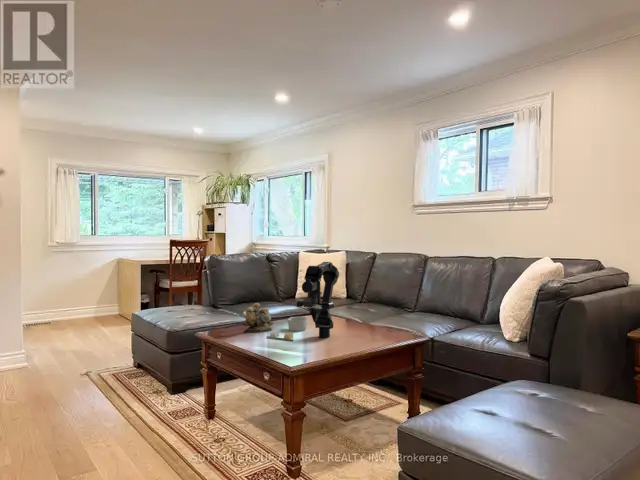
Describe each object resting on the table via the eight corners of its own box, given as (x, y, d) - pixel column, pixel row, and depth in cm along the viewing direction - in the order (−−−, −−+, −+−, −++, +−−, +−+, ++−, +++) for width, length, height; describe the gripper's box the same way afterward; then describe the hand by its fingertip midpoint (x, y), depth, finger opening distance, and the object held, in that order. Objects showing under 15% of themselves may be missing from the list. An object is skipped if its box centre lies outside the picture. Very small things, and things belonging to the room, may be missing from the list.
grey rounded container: (309, 333, 252) (309, 319, 252) (291, 335, 248) (291, 320, 248) (301, 328, 265) (301, 315, 265) (283, 330, 261) (283, 316, 261)
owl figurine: (246, 336, 244) (245, 305, 244) (238, 333, 255) (238, 303, 254) (276, 333, 253) (276, 303, 253) (268, 329, 264) (267, 300, 263)
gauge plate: (277, 335, 246) (277, 331, 246) (306, 339, 237) (306, 335, 237) (262, 341, 234) (262, 336, 234) (292, 345, 225) (292, 340, 225)
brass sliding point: (288, 337, 236) (288, 332, 236) (293, 338, 235) (293, 333, 235) (282, 339, 232) (282, 334, 232) (287, 340, 230) (287, 335, 230)
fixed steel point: (274, 335, 241) (274, 331, 241) (279, 336, 239) (279, 332, 239) (268, 338, 236) (268, 333, 236) (272, 338, 234) (272, 334, 234)
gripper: (290, 291, 222) (290, 322, 222) (323, 293, 213) (323, 326, 213) (302, 288, 231) (302, 318, 232) (334, 291, 222) (334, 322, 223)
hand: (314, 321), depth 224 cm, fingers closed
